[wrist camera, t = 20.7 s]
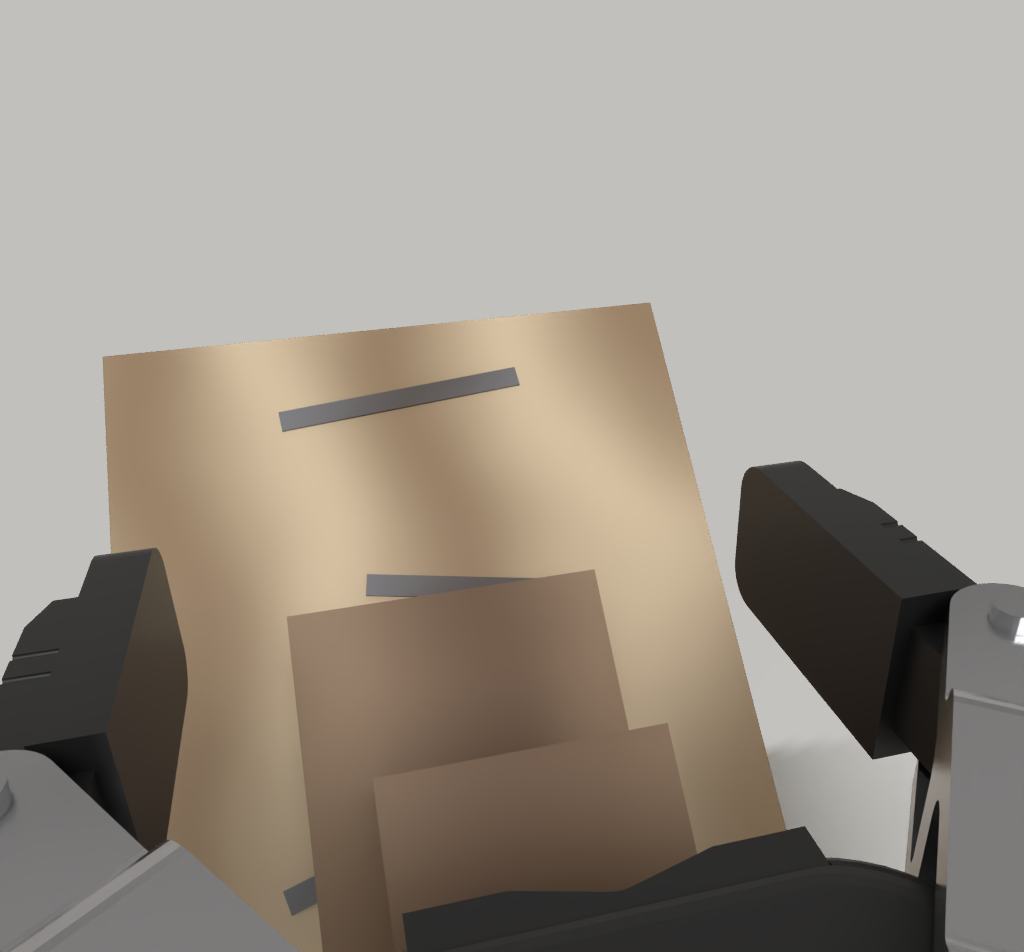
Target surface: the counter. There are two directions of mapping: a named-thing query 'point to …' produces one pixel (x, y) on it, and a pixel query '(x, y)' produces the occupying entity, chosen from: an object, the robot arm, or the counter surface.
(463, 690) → the block
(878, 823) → the counter surface
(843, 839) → the counter surface
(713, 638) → the oak board
